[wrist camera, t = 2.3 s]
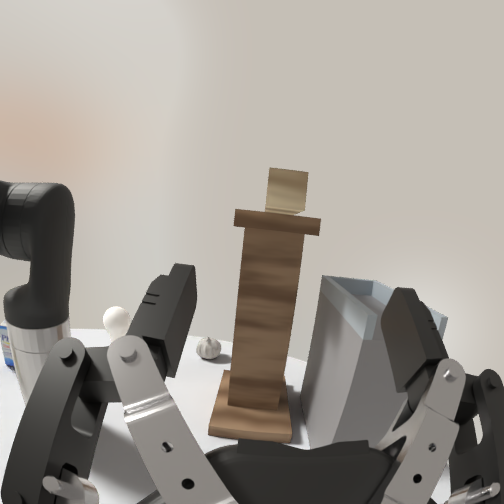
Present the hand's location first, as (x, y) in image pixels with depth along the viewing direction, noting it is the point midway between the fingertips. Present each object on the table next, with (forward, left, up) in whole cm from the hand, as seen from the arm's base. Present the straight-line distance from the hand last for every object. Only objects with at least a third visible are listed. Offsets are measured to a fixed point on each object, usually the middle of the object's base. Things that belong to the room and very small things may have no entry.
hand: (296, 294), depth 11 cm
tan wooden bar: (-13, +22, +4) cm, 26 cm away
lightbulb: (-46, +20, -28) cm, 58 cm away
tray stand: (0, +28, -28) cm, 40 cm away
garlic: (-33, +36, -28) cm, 57 cm away
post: (-15, +26, -28) cm, 41 cm away
